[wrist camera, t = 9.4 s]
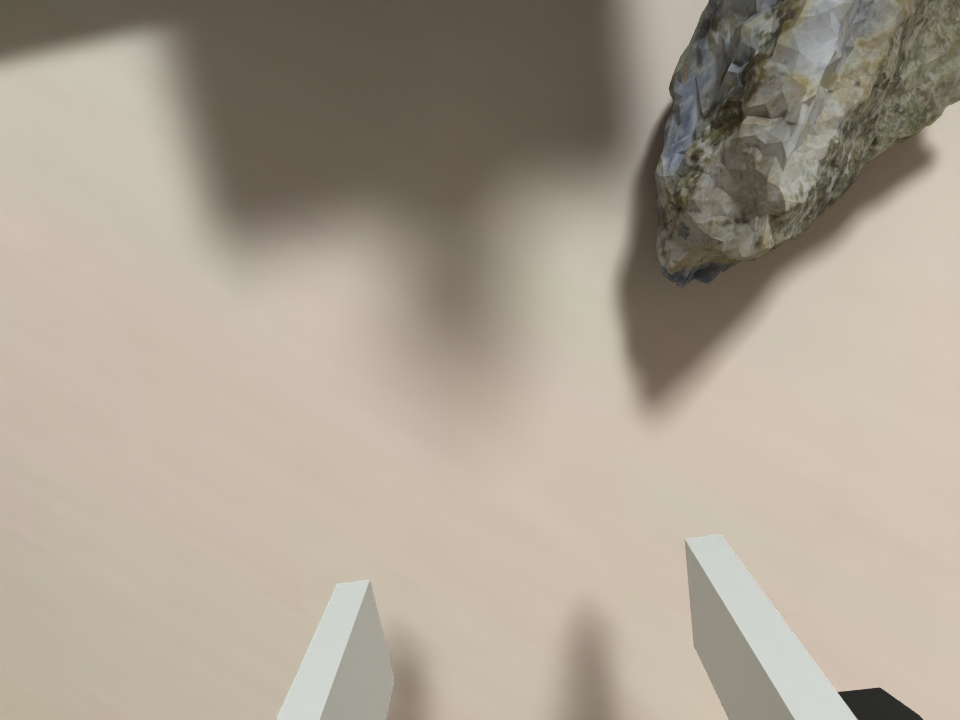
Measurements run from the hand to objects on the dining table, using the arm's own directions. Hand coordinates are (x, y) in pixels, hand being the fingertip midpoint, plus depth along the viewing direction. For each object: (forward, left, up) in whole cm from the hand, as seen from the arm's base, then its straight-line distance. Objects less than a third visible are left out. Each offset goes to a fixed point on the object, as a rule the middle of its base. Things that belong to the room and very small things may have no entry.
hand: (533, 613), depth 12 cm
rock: (+5, +13, -3) cm, 14 cm away
